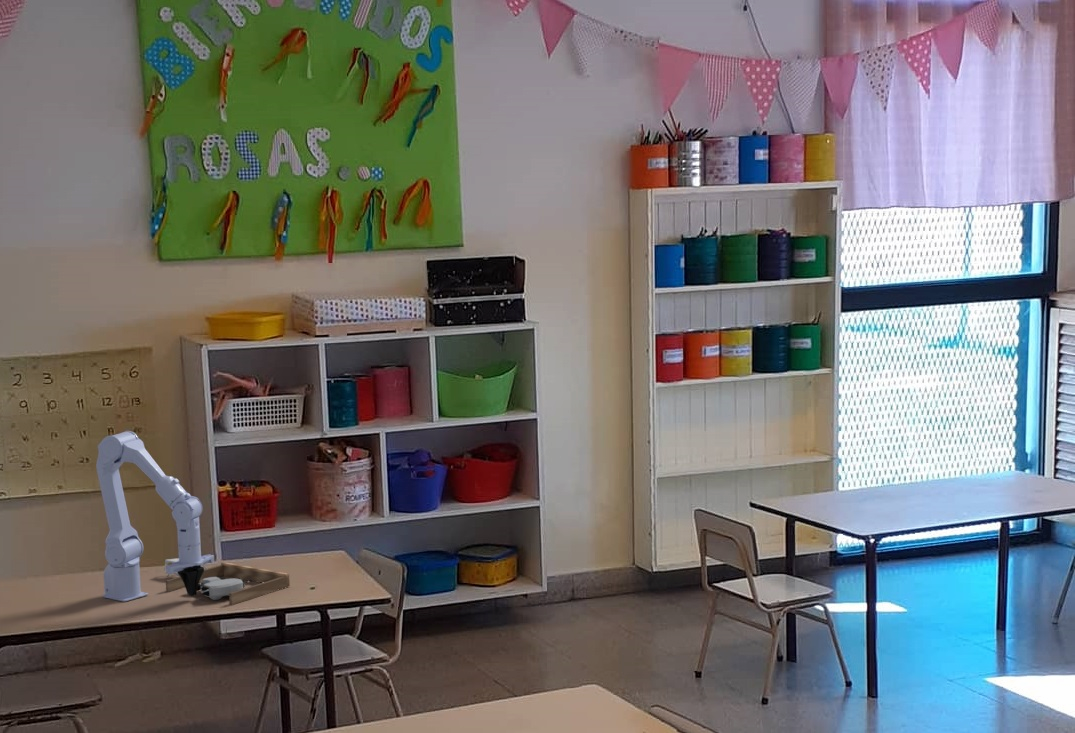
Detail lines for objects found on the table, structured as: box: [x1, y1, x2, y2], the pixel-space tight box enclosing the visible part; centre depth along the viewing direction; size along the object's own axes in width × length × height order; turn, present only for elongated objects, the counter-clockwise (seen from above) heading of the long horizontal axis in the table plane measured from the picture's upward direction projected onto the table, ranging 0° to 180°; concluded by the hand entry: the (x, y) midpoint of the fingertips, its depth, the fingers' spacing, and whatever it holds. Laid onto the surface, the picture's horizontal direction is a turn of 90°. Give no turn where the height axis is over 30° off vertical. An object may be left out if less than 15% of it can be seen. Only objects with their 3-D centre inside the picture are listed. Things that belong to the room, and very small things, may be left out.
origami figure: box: [164, 557, 208, 577], centre depth 386 cm, size 12×8×5 cm
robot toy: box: [197, 577, 251, 601], centre depth 366 cm, size 12×4×15 cm
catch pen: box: [165, 561, 291, 606], centre depth 372 cm, size 26×20×4 cm
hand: (192, 594), depth 362 cm, fingers closed
